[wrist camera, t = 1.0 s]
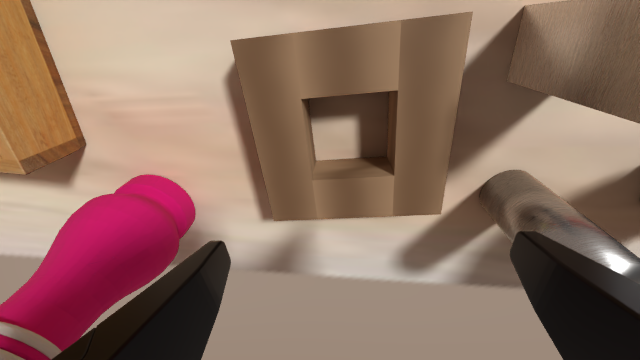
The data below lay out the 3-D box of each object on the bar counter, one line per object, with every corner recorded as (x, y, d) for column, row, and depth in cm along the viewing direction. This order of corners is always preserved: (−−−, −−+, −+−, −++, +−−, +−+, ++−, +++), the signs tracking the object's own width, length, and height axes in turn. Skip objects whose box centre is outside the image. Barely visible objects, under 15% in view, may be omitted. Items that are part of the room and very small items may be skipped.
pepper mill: (217, 220, 24) (-99, 718, 7) (161, 243, 26) (-195, 672, 9) (162, 155, 21) (-691, 765, 4) (102, 187, 23) (-627, 676, 6)
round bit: (542, 168, 19) (679, 262, 12) (526, 211, 21) (634, 317, 14) (485, 171, 20) (579, 264, 12) (475, 213, 22) (550, 317, 14)
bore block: (449, 14, 15) (472, 11, 12) (428, 191, 21) (440, 214, 18) (247, 38, 16) (230, 40, 14) (281, 198, 22) (273, 220, 20)
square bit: (604, -4, 14) (928, -43, 6) (576, 74, 16) (796, 118, 8) (524, 5, 15) (735, -20, 7) (506, 81, 17) (654, 128, 9)
